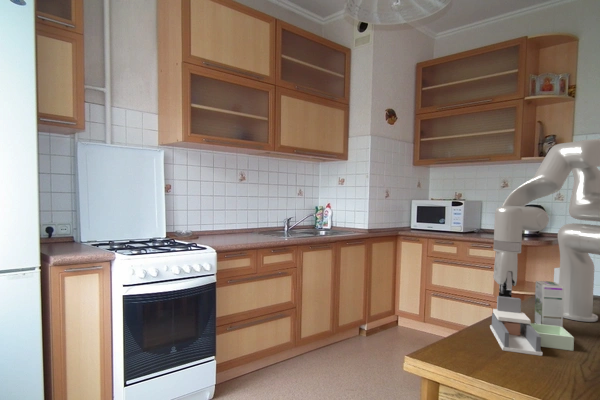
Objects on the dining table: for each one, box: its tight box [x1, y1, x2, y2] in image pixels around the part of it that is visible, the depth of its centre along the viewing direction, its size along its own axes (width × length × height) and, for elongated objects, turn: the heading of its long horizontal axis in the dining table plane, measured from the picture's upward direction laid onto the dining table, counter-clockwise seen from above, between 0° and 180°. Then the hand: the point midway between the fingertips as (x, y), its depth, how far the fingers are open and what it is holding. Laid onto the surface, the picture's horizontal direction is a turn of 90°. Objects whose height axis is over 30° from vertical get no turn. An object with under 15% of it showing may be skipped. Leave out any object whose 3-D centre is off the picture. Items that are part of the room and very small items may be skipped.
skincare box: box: [553, 267, 560, 284], centre depth 154 cm, size 6×4×12 cm
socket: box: [530, 322, 575, 352], centre depth 105 cm, size 9×9×4 cm
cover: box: [492, 295, 532, 324], centre depth 110 cm, size 8×8×5 cm
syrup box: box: [533, 280, 564, 328], centre depth 114 cm, size 6×6×14 cm
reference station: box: [489, 312, 543, 356], centre depth 106 cm, size 18×9×5 cm, turn 163°
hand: (504, 305), depth 117 cm, fingers closed
